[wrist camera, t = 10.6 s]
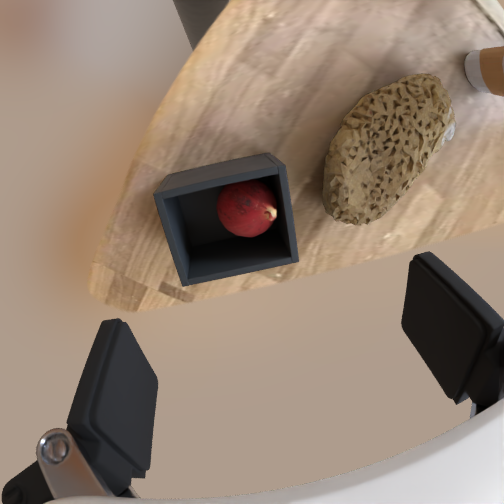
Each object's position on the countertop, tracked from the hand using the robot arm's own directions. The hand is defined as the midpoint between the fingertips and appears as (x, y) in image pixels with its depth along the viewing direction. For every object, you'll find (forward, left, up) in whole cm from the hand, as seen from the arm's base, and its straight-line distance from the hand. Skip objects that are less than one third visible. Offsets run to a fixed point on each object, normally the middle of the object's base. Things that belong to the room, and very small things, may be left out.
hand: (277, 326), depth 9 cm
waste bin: (+2, -4, -26) cm, 26 cm away
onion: (+2, -3, -25) cm, 25 cm away
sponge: (+12, +13, -26) cm, 31 cm away
